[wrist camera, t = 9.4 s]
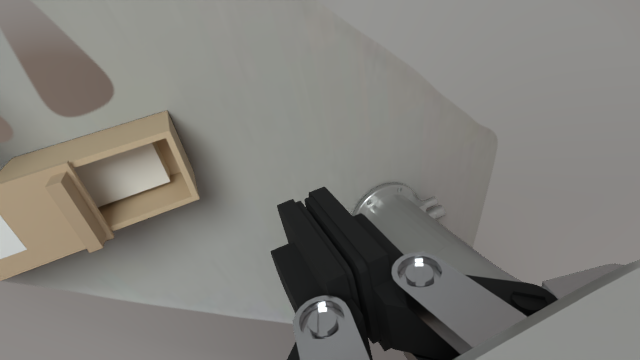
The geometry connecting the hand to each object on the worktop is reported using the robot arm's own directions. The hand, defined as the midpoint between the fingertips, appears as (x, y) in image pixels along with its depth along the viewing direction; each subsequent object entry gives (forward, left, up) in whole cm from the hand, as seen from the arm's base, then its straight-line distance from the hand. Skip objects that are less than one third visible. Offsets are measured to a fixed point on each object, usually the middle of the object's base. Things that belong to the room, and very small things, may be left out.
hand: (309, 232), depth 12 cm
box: (+13, +7, -35) cm, 38 cm away
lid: (+22, +7, -27) cm, 36 cm away
